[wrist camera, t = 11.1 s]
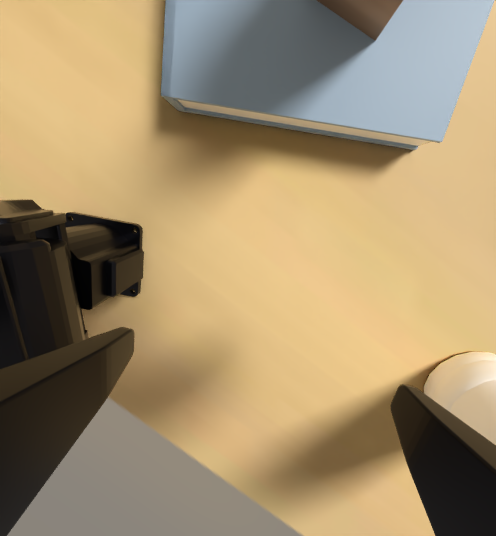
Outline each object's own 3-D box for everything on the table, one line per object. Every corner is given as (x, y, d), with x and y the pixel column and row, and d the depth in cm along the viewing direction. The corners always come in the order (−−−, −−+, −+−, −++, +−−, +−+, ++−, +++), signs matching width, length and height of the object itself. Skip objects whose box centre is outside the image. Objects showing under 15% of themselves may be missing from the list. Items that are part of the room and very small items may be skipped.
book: (178, 110, 18) (160, 95, 15) (195, -124, 14) (176, -203, 11) (413, 150, 17) (442, 141, 14) (493, -85, 14) (553, -159, 11)
